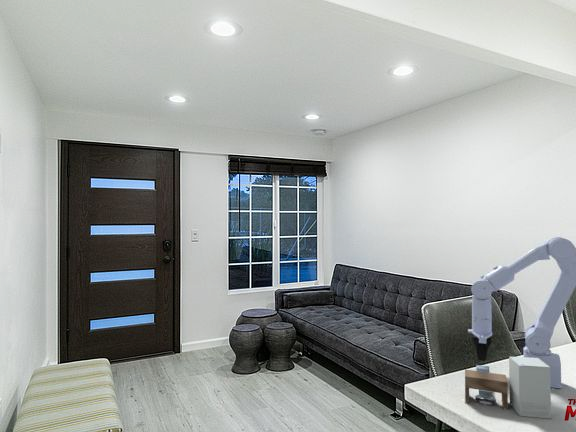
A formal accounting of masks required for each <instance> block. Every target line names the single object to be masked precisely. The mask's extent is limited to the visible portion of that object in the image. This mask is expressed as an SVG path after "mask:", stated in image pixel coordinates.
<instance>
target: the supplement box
mask: <svg viewBox="0 0 576 432" xmlns="http://www.w3.org/2000/svg"><path fill="white" fill-rule="evenodd" d="M508 357H509V358H508V359H509V361H508V362H509V363H508V364H509V366H508V367H509V369H508V374H509V376H508V377H509V405H510V406H511V407H512V408H513V410H514V411H515V412H516V413H517V414H518V415H519V417H528V418H537V419H550V420H551V419H552V398H551V397H552V395H551V394H552V390H551V389H552V387H551V381H550V367H549V366H548V365H547V364H545V363H544V362H543V361H541V360H540V359H539V358H529V357H524V356H508Z"/></svg>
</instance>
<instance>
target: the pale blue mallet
mask: <svg viewBox="0 0 576 432" xmlns="http://www.w3.org/2000/svg"><path fill="white" fill-rule="evenodd" d="M475 365H476V367H475V368H476V370H475V371H481V372H488V373H490V366H486V365H480V364H479V365H478V364H475ZM479 394H484V395H489V396H492V392H491V391H484V390H478V395H479Z"/></svg>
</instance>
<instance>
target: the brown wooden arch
mask: <svg viewBox="0 0 576 432" xmlns="http://www.w3.org/2000/svg"><path fill="white" fill-rule="evenodd" d="M508 386H509V385H508V380H507V375H506V374H503V373H502V374H501V373H496V372H495V373H494V372H489V373H488V372H481V371H476V370H473V369H467V368H465V369H464V399H465V400H464V402H465V403H466V404H470V389H472V390H477V391H479V390H484V391H491V393H499V394H501V404H502V409H503V410H509V402H508V401H509V398H508V397H509V394H508V393H509V389H508V388H509V387H508Z"/></svg>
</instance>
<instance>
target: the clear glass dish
mask: <svg viewBox="0 0 576 432" xmlns="http://www.w3.org/2000/svg"><path fill="white" fill-rule="evenodd" d="M474 397H475V399H474V401H475V403H477V404H480V405H482V406H487V407H493V406H496V405H497V399H496V398H495V397H494V396H492V395H491V396H489V395H484V394H479V393H478V394H476V395H475V396H474Z"/></svg>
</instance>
